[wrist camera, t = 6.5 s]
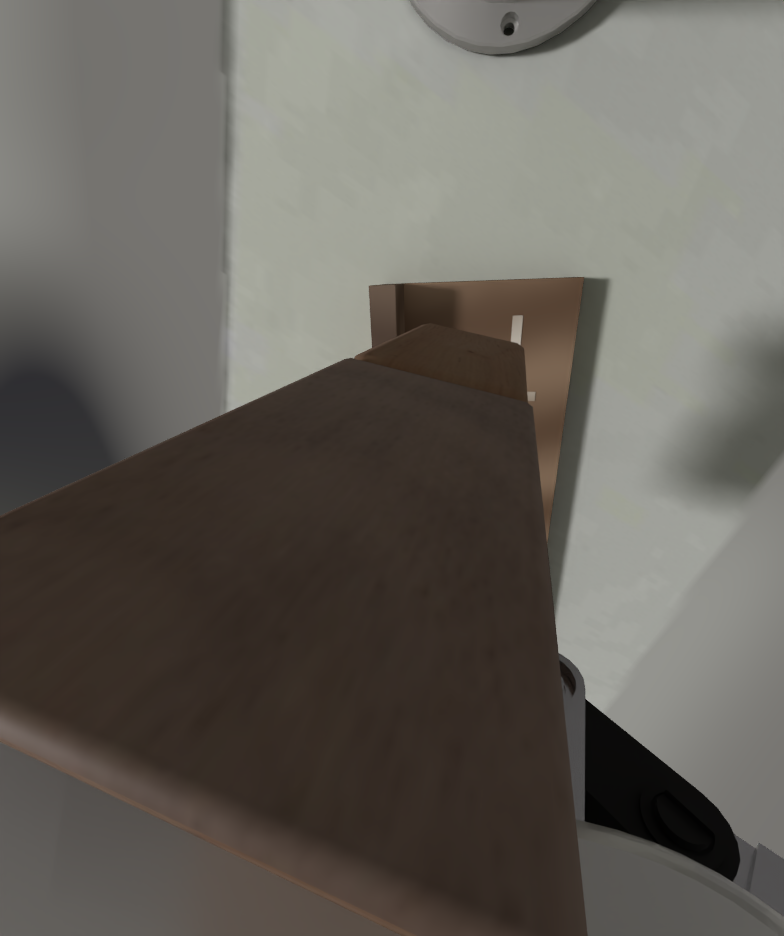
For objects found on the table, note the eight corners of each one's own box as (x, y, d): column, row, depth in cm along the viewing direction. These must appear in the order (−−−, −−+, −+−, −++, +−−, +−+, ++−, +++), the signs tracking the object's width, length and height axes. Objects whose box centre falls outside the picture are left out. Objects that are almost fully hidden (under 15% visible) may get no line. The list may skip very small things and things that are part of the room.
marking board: (384, 284, 28) (368, 285, 24) (578, 277, 26) (597, 277, 21) (398, 627, 40) (389, 667, 36) (529, 643, 38) (535, 686, 34)
